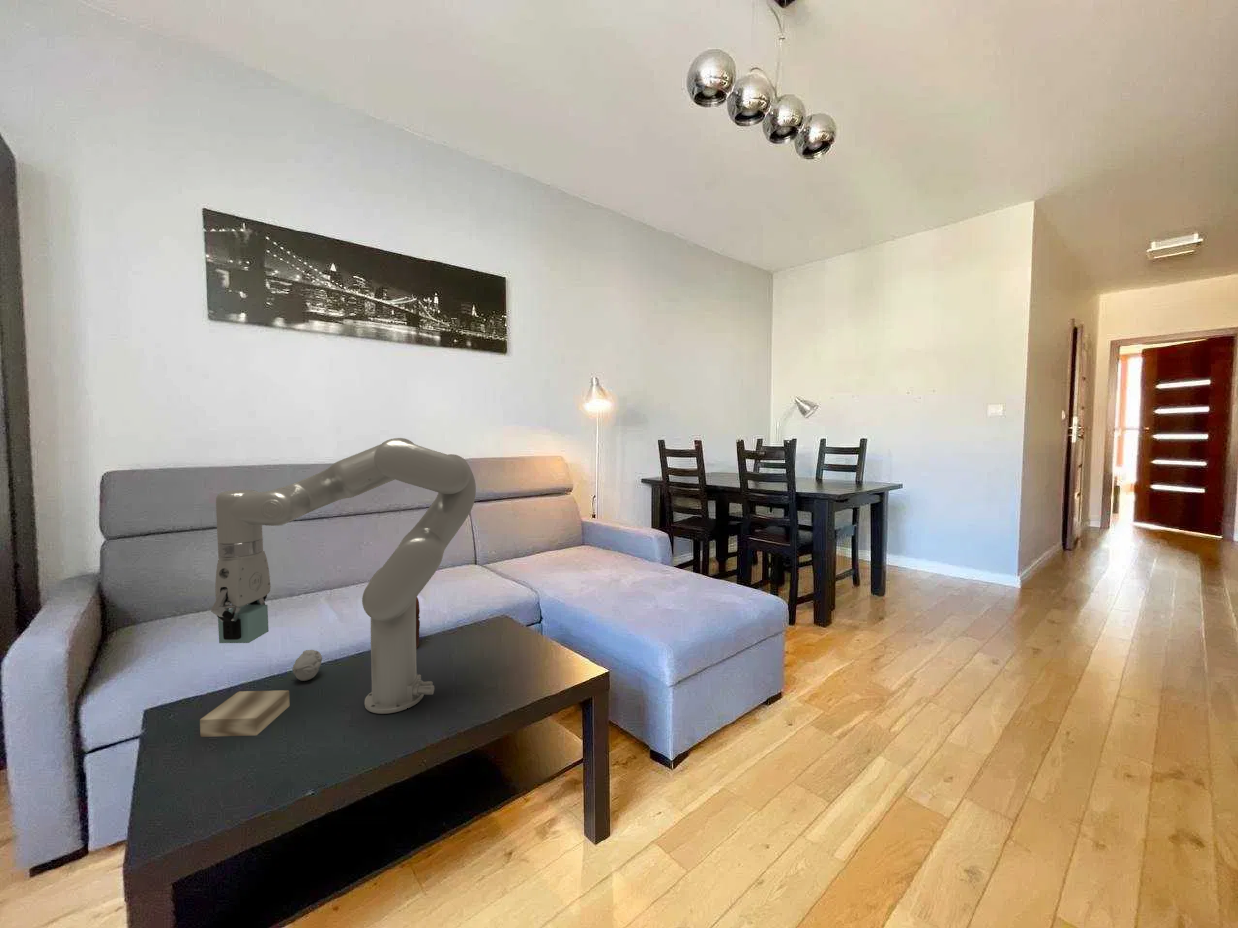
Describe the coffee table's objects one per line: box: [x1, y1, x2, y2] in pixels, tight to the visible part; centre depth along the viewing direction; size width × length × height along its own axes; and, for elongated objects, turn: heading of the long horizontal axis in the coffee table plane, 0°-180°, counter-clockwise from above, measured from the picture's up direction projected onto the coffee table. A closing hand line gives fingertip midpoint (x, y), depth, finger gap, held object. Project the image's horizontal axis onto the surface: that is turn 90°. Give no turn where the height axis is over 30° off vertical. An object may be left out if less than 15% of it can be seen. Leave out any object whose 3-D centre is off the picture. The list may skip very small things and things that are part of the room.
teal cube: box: [217, 604, 269, 644], centre depth 105 cm, size 6×6×6 cm
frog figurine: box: [291, 649, 323, 682], centre depth 124 cm, size 6×7×7 cm
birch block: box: [199, 689, 291, 738], centre depth 106 cm, size 11×11×4 cm
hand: (244, 631), depth 105 cm, fingers closed on teal cube, 6 cm apart
